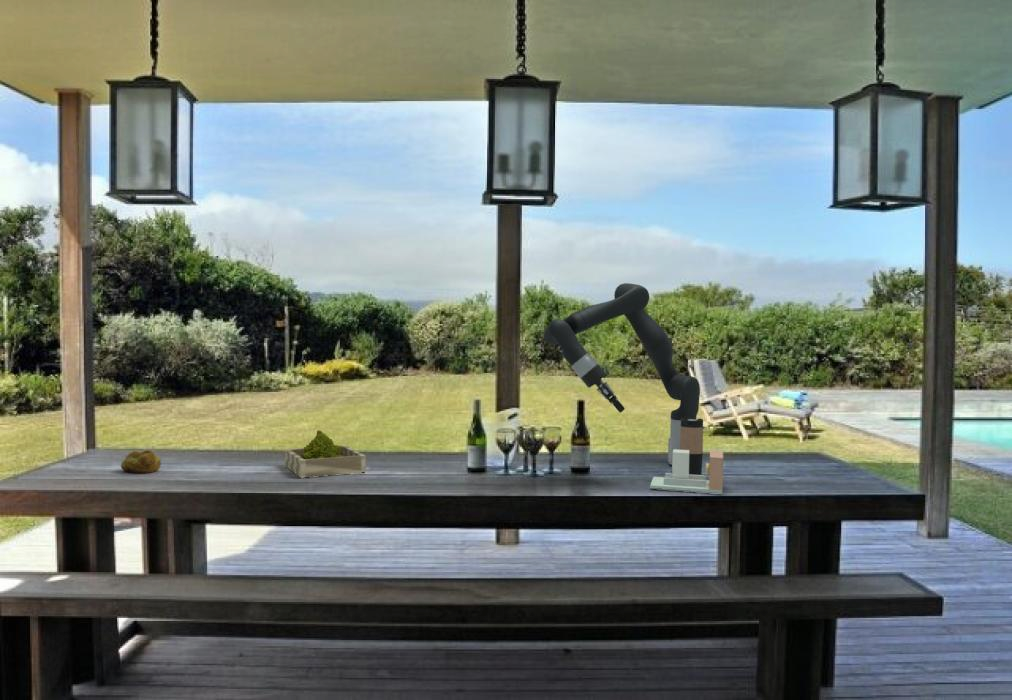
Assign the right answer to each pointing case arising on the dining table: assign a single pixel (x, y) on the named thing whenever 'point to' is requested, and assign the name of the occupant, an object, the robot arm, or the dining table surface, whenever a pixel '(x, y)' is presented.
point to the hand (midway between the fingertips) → (622, 410)
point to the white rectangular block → (680, 464)
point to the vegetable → (321, 448)
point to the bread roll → (141, 462)
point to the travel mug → (692, 443)
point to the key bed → (696, 477)
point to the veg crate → (325, 463)
